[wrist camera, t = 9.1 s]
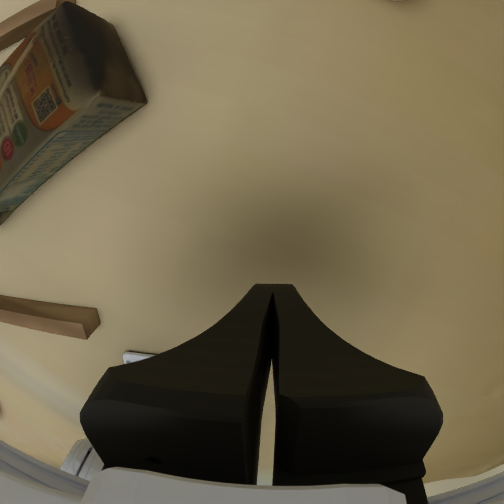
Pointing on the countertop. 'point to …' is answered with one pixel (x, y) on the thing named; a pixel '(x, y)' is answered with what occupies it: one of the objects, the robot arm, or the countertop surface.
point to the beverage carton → (59, 98)
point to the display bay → (22, 310)
